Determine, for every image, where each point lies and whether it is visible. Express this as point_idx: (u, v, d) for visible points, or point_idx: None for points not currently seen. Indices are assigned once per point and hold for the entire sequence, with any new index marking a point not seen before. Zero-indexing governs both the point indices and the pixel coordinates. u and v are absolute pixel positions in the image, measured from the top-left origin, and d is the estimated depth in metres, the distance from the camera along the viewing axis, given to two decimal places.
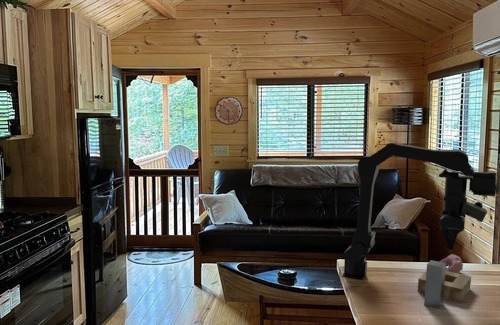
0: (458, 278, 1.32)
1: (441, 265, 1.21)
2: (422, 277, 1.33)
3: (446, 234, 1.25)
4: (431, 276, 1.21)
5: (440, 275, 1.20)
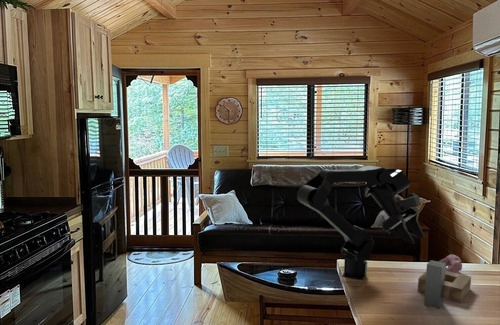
0: (458, 278, 1.32)
1: (441, 265, 1.21)
2: (422, 277, 1.33)
3: (398, 234, 1.36)
4: (431, 276, 1.21)
5: (440, 275, 1.20)
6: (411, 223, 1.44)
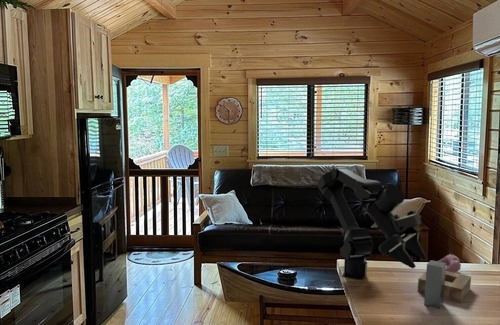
0: (458, 278, 1.32)
1: (441, 265, 1.21)
2: (422, 277, 1.33)
3: (397, 257, 1.22)
4: (431, 276, 1.21)
5: (440, 275, 1.20)
6: (411, 243, 1.31)
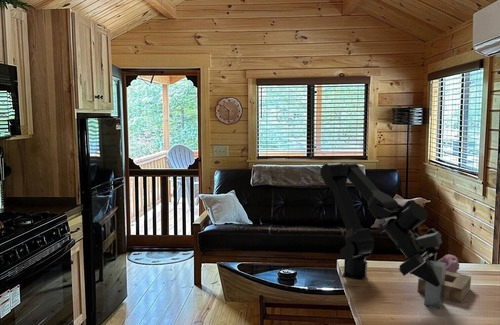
0: (458, 278, 1.32)
1: (441, 265, 1.21)
2: None
3: (421, 275, 1.21)
4: None
5: (440, 275, 1.20)
6: None
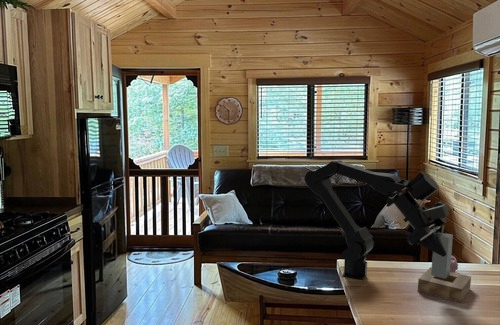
0: (458, 278, 1.32)
1: (448, 236, 1.24)
2: (422, 277, 1.33)
3: (428, 246, 1.25)
4: None
5: (447, 245, 1.24)
6: None
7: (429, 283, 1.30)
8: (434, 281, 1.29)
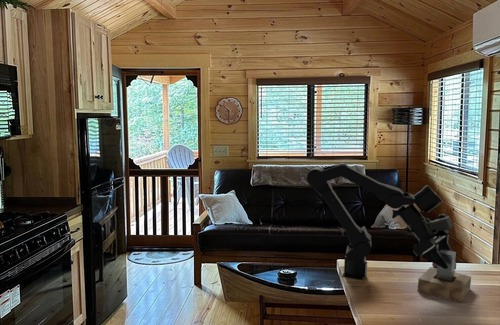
0: (458, 278, 1.32)
1: (451, 253, 1.30)
2: (422, 277, 1.33)
3: (431, 258, 1.29)
4: None
5: (450, 263, 1.29)
6: (441, 245, 1.37)
7: (429, 283, 1.30)
8: (434, 281, 1.29)
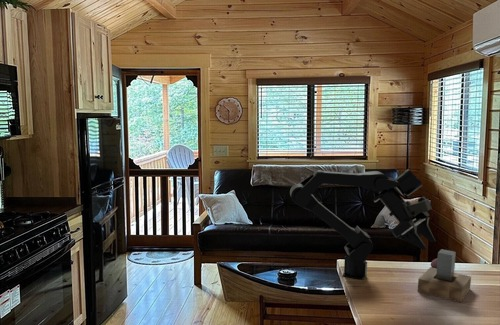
0: (458, 278, 1.32)
1: (451, 253, 1.30)
2: (422, 277, 1.33)
3: (409, 240, 1.32)
4: (442, 264, 1.31)
5: (450, 262, 1.29)
6: (421, 227, 1.40)
7: (429, 283, 1.30)
8: (434, 281, 1.29)
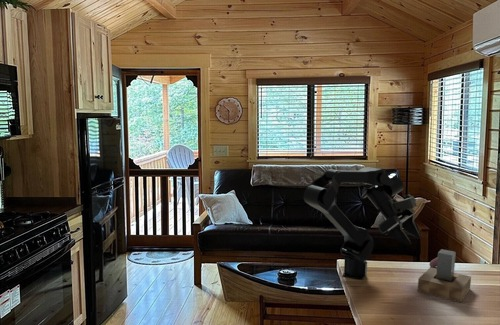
0: (458, 278, 1.32)
1: (451, 253, 1.30)
2: (422, 277, 1.33)
3: (395, 236, 1.38)
4: (442, 264, 1.31)
5: (450, 262, 1.29)
6: (407, 224, 1.46)
7: (429, 283, 1.30)
8: (434, 281, 1.29)
